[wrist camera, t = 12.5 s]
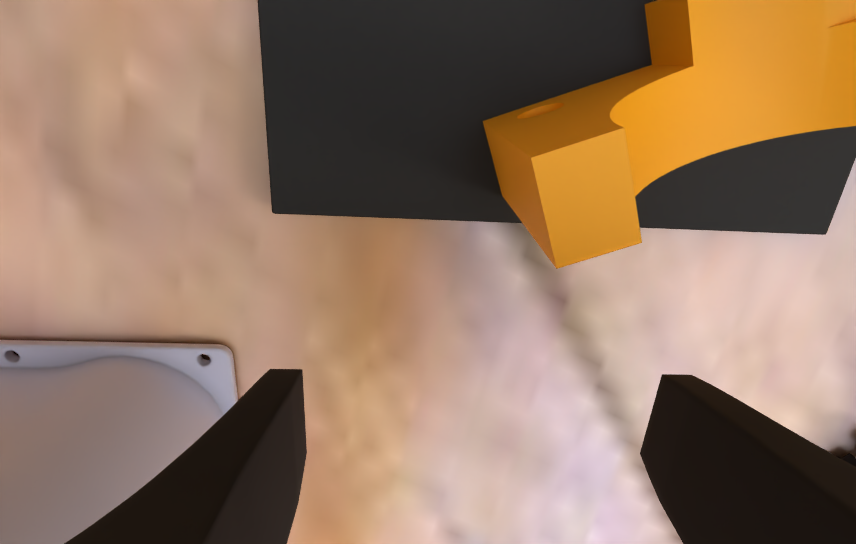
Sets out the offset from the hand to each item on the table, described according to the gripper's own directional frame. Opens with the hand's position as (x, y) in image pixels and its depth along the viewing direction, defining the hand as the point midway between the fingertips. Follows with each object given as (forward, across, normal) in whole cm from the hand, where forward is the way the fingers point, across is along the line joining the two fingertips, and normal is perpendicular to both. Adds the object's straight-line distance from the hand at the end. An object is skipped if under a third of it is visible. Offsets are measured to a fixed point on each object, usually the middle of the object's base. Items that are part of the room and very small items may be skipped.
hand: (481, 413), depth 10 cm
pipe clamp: (+9, -7, -6) cm, 13 cm away
